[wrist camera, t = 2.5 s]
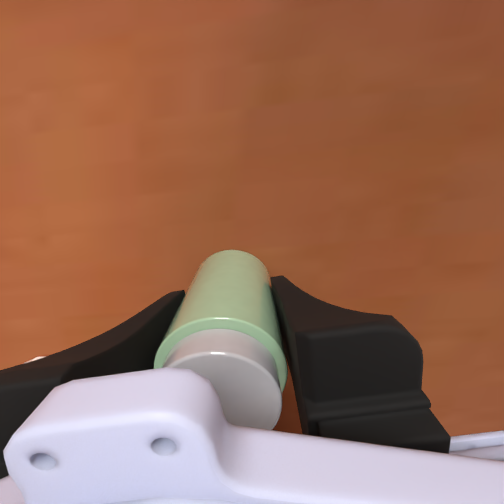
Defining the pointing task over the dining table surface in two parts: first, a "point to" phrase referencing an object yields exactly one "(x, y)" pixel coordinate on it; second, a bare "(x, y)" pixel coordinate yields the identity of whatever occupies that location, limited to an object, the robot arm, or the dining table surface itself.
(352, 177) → the dining table surface
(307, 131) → the dining table surface
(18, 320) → the dining table surface
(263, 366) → the salt shaker
